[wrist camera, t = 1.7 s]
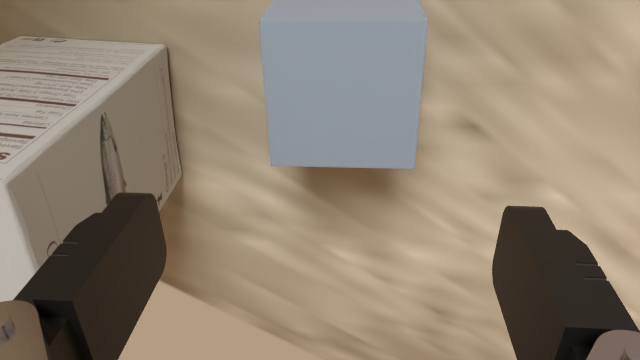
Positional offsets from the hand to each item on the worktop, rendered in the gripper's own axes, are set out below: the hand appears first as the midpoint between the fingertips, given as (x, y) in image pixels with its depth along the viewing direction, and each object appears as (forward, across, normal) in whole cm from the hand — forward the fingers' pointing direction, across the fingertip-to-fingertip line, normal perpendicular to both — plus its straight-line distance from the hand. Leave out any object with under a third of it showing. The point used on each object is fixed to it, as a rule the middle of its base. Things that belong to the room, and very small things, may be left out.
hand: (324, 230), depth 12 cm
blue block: (+13, 0, 0) cm, 13 cm away
